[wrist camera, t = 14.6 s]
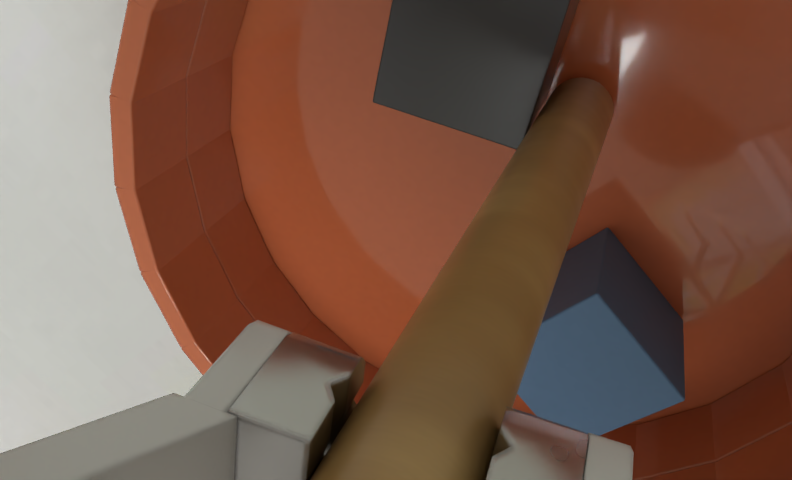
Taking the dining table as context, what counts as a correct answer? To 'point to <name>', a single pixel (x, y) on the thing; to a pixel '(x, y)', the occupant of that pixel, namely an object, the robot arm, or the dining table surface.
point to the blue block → (604, 343)
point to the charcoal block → (473, 62)
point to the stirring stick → (479, 311)
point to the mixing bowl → (466, 192)
